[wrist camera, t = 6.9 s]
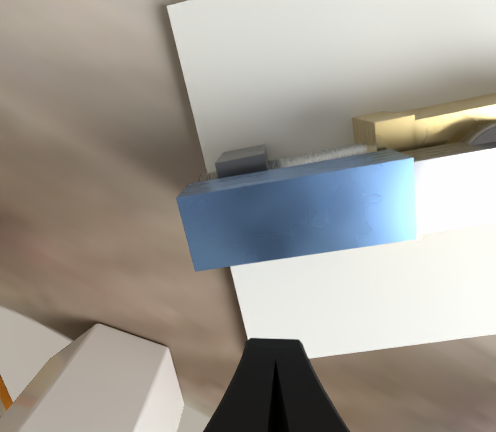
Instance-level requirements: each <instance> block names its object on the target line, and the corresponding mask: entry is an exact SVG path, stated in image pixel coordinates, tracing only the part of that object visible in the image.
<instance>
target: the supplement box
mask: <svg viewBox="0 0 496 432" xmlns="http://www.w3.org/2000/svg"><path fill="white" fill-rule="evenodd" d="M12 404H13V402H12V400H11V397H10V395H9V393H8V391H7V388H6V386H5V384H4V382H3V380H2V377H1V375H0V418H1V417H2V416H3V415H4V413H5V412H6V411H7V410H8V409H9V407H10V406H11V405H12Z"/></svg>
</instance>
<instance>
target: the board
mask: <svg viewBox="0 0 496 432" xmlns="http://www.w3.org/2000/svg"><path fill="white" fill-rule="evenodd" d="M167 10H168V14H169V18H170V22H171V26H172V30H173V34H174V38H175V43H176V47H177V51H178V55H179V59H180V63H181V67H182V71H183V75H184V79H185V84H186V88H187V92H188V96H189V100H190V104H191V108H192V112H193V116H194V120H195V124H196V129H197V133H198V137H199V141H200V145H201V149H202V153H203V157H204V161H205V165H206V170H207V173H209V172H214V171H216V167H215V162H216V161H217V160H218V159H219V157H220V156H221V155H222V153H223V152H227V151H232V150H237V149H242V148H247V147H252V146H257V145H262V144H265V148H266V154H267V159H268V161H270V160H275V159H280V158H286V157H291V156H296V155H301V154H306V153H311V152H316V151H321V150H326V149H332V148H337V147H342V146H347V145H352V144H355V142H354V133H353V124H352V117H356V116H361V115H366V114H371V113H375V112H380V111H388V112H397V113H398V112H403V111H408V110H413V109H418V108H423V107H428V106H433V105H438V104H442V103H447V102H452V101H457V100H462V99H467V98H472V97H477V96H482V95H487V94H492V93H496V0H188V1H184V2H180V3H176V4H172V5H168V6H167ZM230 268H231V272H232V276H233V280H234V284H235V288H236V292H237V297H238V301H239V305H240V309H241V313H242V317H243V321H244V325H245V329H246V333H247V338H248V340H249V339H250V338H270V339H298V340H299V341H300V342H301V343H302V344H303V347H304V349H305V352H306V354H307V356H308V358H316V357H324V356H331V355H339V354H347V353H354V352H362V351H370V350H377V349H385V348H393V347H400V346H408V345H416V344H423V343H431V342H439V341H446V340H454V339H462V338H469V337H477V336H485V335H492V334H496V223H495V222H493V223H487V224H480V225H473V226H467V227H461V228H455V229H449V230H443V231H437V232H430V233H424V234H422V239H416V240H410V241H404V242H398V243H392V244H381V245H374V246H367V247H360V248H353V249H347V250H340V251H333V252H326V253H319V254H312V255H305V256H298V257H292V258H285V259H278V260H271V261H264V262H257V263H250V264H243V265H237V266H230Z"/></svg>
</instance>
